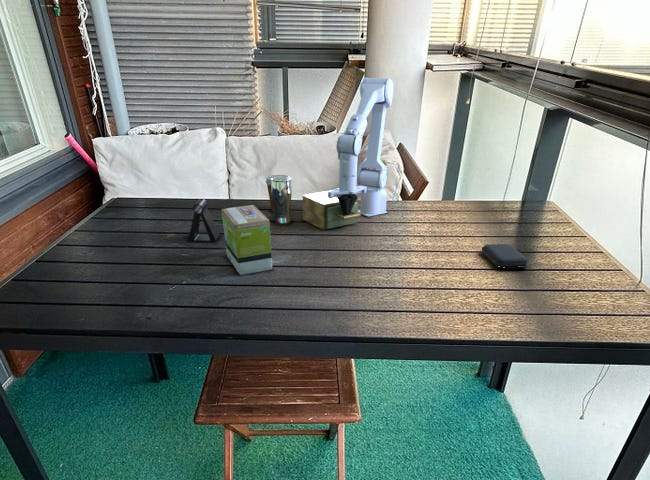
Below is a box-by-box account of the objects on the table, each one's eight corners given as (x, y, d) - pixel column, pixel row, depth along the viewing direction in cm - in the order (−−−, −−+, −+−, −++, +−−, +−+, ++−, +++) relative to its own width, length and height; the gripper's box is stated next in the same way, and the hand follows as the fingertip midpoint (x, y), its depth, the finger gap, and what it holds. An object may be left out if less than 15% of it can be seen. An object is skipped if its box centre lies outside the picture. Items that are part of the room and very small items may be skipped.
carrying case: (533, 270, 138) (511, 251, 150) (536, 260, 136) (514, 241, 149) (497, 271, 137) (478, 252, 150) (499, 261, 136) (480, 242, 148)
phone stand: (188, 241, 157) (182, 203, 150) (193, 235, 162) (187, 198, 155) (216, 241, 156) (211, 204, 150) (219, 235, 161) (215, 198, 155)
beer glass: (270, 220, 175) (267, 177, 166) (288, 218, 177) (286, 175, 169) (277, 226, 169) (275, 181, 161) (295, 223, 172) (294, 179, 164)
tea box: (225, 257, 146) (220, 207, 137) (257, 252, 149) (254, 203, 141) (239, 276, 134) (234, 223, 126) (273, 270, 137) (270, 218, 129)
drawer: (366, 226, 167) (367, 206, 163) (336, 233, 161) (337, 212, 157) (337, 213, 179) (337, 194, 175) (308, 218, 174) (308, 199, 170)
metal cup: (264, 213, 182) (262, 180, 175) (270, 206, 190) (269, 174, 183) (289, 214, 180) (288, 181, 174) (294, 207, 188) (293, 175, 182)
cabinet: (355, 223, 173) (356, 198, 168) (323, 229, 166) (323, 204, 162) (333, 213, 182) (334, 189, 177) (302, 219, 176) (302, 195, 171)
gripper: (336, 180, 151) (335, 223, 158) (373, 174, 157) (370, 216, 165) (324, 176, 156) (323, 218, 163) (360, 170, 162) (358, 211, 170)
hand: (346, 216), depth 164 cm, fingers closed, pressing on drawer
